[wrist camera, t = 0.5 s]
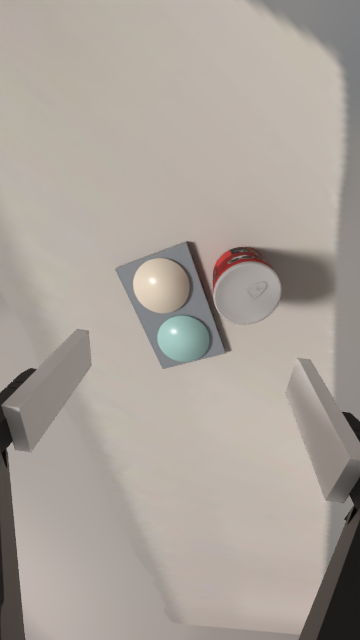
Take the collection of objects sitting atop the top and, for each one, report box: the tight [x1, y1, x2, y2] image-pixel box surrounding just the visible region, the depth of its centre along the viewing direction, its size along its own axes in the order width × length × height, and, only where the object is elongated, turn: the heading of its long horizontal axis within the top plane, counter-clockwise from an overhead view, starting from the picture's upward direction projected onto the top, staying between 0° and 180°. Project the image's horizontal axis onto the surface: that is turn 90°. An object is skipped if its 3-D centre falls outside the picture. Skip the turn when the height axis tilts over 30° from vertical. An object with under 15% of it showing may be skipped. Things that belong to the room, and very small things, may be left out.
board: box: [115, 241, 225, 369], centre depth 43 cm, size 20×12×2 cm, turn 21°
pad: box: [157, 315, 209, 362], centre depth 44 cm, size 9×9×1 cm
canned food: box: [213, 247, 282, 325], centre depth 35 cm, size 8×8×11 cm
